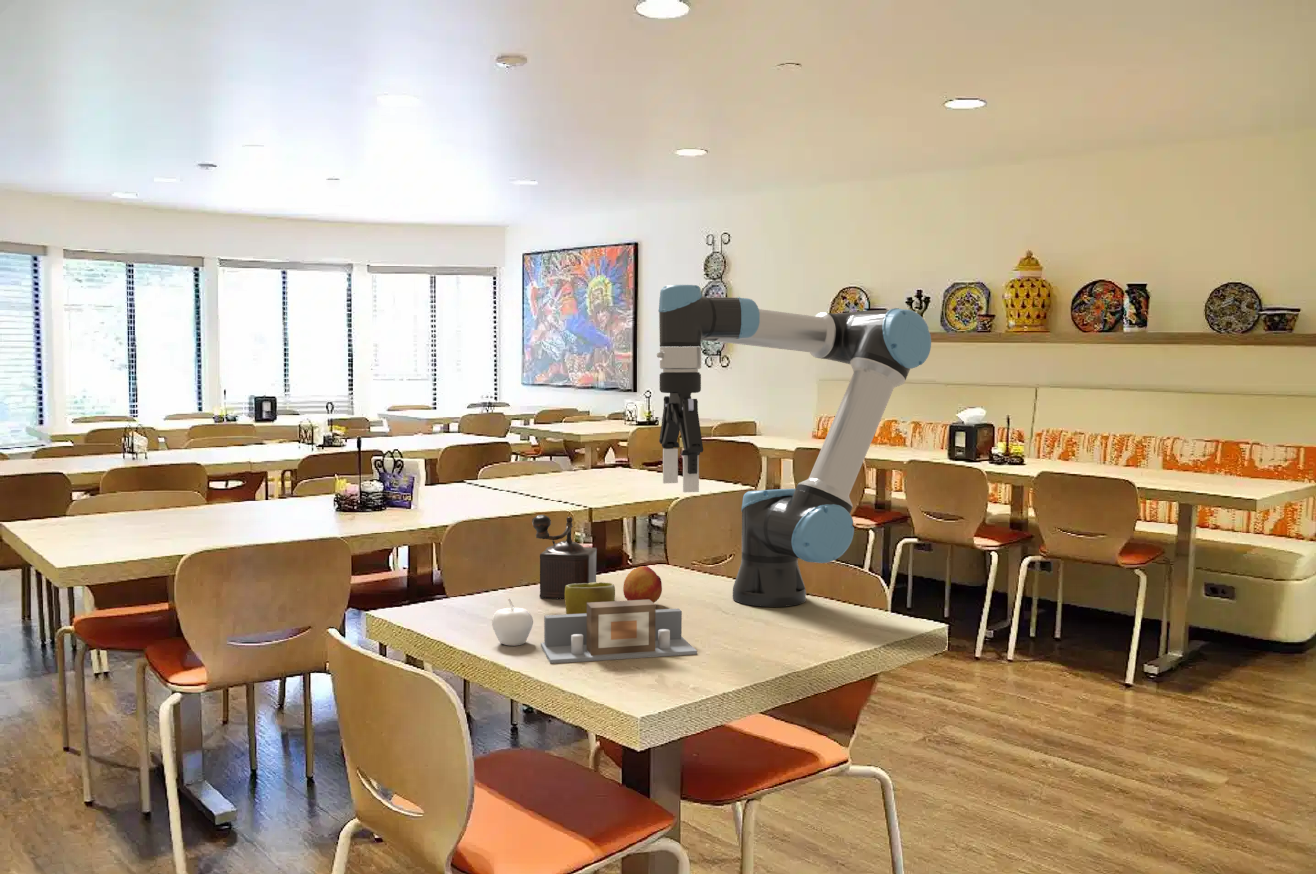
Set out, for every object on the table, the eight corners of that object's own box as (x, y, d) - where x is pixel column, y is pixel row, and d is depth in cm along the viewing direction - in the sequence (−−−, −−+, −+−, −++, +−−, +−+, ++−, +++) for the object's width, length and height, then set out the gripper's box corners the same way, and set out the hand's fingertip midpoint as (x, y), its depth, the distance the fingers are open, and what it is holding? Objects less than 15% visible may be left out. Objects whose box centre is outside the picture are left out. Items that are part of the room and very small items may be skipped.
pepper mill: (547, 588, 238) (547, 505, 236) (597, 590, 236) (597, 507, 235) (529, 604, 222) (529, 516, 221) (582, 606, 221) (582, 517, 219)
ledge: (679, 638, 196) (679, 607, 196) (696, 654, 185) (697, 621, 185) (540, 646, 190) (540, 614, 189) (550, 663, 179) (550, 629, 179)
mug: (615, 626, 196) (602, 572, 198) (563, 640, 199) (550, 586, 201) (634, 623, 208) (621, 572, 210) (585, 637, 210) (572, 586, 212)
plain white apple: (495, 638, 195) (495, 593, 195) (535, 638, 195) (535, 594, 194) (488, 648, 188) (488, 602, 188) (529, 649, 188) (529, 603, 187)
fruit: (667, 609, 218) (667, 569, 218) (627, 611, 216) (627, 571, 216) (657, 600, 226) (657, 562, 225) (619, 602, 224) (619, 564, 223)
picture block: (649, 645, 189) (649, 599, 188) (655, 651, 185) (655, 604, 184) (586, 649, 186) (586, 602, 185) (591, 655, 182) (591, 608, 181)
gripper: (643, 369, 209) (643, 480, 211) (679, 372, 185) (679, 496, 187) (681, 369, 211) (681, 479, 213) (721, 372, 187) (721, 495, 189)
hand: (680, 487), depth 200 cm, fingers open, 13 cm apart
